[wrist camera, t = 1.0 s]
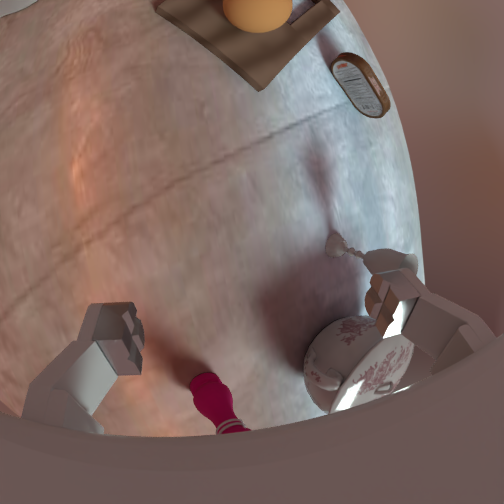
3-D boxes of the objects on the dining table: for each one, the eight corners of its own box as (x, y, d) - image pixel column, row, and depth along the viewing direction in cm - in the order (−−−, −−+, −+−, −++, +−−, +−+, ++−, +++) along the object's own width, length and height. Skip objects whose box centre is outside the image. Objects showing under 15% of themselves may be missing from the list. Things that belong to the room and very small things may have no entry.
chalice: (350, 234, 56) (422, 258, 41) (340, 264, 57) (408, 295, 41) (328, 224, 52) (405, 248, 37) (316, 257, 53) (389, 291, 38)
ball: (199, 15, 29) (225, -19, 20) (238, -12, 29) (268, -42, 20) (247, 52, 34) (283, 28, 25) (280, 23, 34) (317, 0, 26)
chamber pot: (370, 344, 73) (423, 378, 56) (299, 405, 66) (347, 454, 48) (359, 272, 61) (433, 306, 43) (265, 346, 53) (330, 412, 36)
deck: (155, 12, 27) (157, 6, 25) (261, -50, 28) (266, -55, 26) (258, 91, 39) (264, 89, 37) (334, 14, 39) (340, 11, 38)
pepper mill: (185, 373, 47) (228, 457, 30) (221, 367, 50) (274, 441, 33) (188, 399, 48) (228, 477, 31) (221, 392, 52) (269, 463, 35)
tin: (367, 113, 50) (398, 111, 43) (361, 121, 50) (393, 119, 43) (328, 57, 42) (359, 46, 35) (320, 64, 42) (352, 53, 35)
